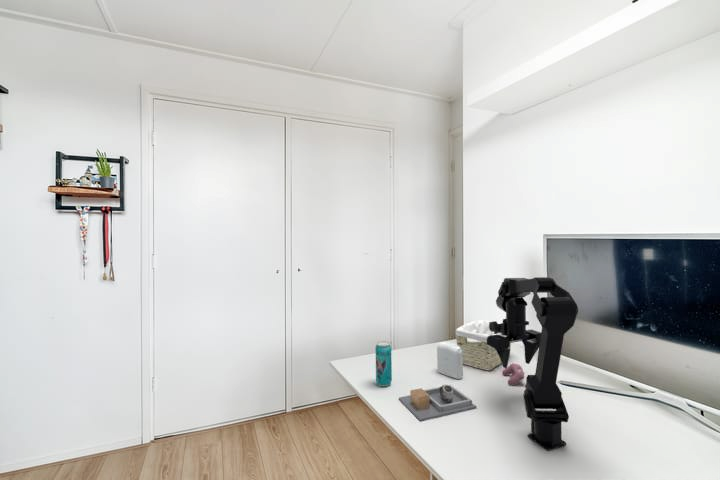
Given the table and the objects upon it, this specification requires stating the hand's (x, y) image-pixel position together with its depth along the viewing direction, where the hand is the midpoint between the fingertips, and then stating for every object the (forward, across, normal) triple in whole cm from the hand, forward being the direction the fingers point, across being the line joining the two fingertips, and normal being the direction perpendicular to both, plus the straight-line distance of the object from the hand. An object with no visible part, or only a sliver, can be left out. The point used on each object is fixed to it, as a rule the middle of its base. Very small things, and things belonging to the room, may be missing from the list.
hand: (516, 365), depth 107 cm
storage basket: (+12, -16, -33) cm, 38 cm away
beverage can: (+12, +34, -28) cm, 46 cm away
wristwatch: (+12, +20, -9) cm, 25 cm away
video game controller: (+12, -12, -13) cm, 21 cm away
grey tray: (+12, +24, -9) cm, 28 cm away
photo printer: (+12, +7, -26) cm, 30 cm away
